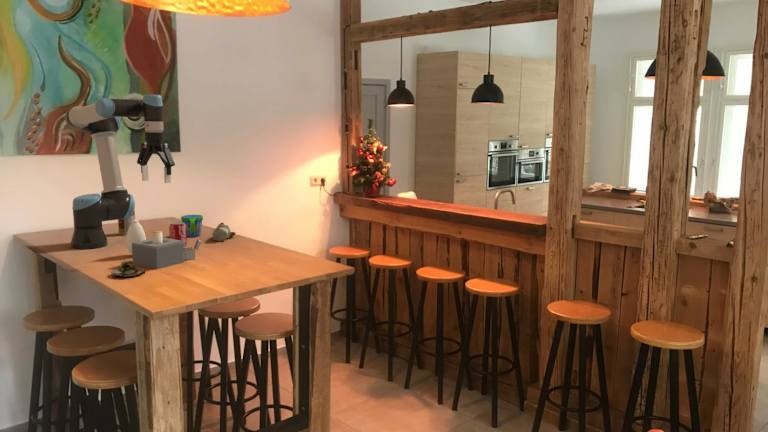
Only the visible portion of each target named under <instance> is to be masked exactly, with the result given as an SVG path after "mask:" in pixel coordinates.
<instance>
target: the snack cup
mask: <svg viewBox="0 0 768 432" xmlns="http://www.w3.org/2000/svg"><path fill="white" fill-rule="evenodd" d="M180 220H181V222H185V225H186V237H187V238H196V237H200V236H201V233H202V225H203V220H204V216H203V215H201V214H187V215H181V216H180Z"/></svg>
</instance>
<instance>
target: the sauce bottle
mask: <svg viewBox="0 0 768 432" xmlns="http://www.w3.org/2000/svg"><path fill="white" fill-rule="evenodd" d="M125 236H126V237H125V244H126V248H127V250H128V252H129V253H130V254H132V243H133V242H138V241H143V240H147V238H146V233H145V230H144V228H143V226H142V225H141V223H140V222H139V220H138V219H136V214H135V215H134V220H132V223H131V224H130V226H129V228H128V231H127V235H125Z"/></svg>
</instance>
